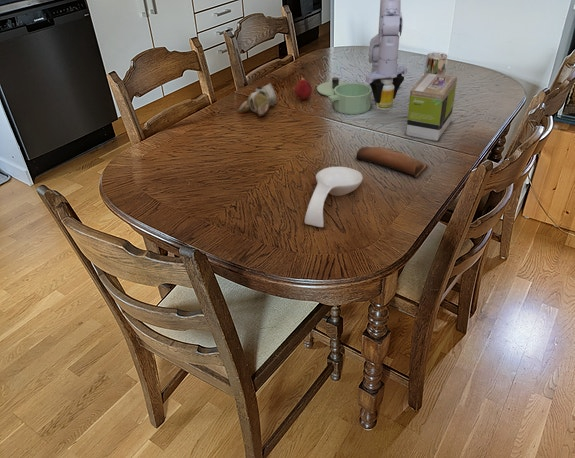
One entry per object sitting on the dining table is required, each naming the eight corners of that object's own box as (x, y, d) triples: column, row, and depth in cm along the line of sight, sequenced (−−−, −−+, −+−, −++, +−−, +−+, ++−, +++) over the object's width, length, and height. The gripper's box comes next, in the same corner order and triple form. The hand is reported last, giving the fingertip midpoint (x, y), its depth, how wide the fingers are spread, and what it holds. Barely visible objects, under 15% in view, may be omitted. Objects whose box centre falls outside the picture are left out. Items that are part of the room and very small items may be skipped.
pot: (320, 106, 171) (320, 89, 167) (362, 95, 177) (363, 78, 174) (340, 119, 162) (340, 101, 158) (384, 106, 168) (385, 89, 165)
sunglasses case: (428, 163, 136) (425, 150, 130) (417, 185, 134) (414, 172, 129) (370, 147, 145) (365, 133, 139) (359, 166, 143) (353, 154, 138)
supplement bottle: (372, 105, 162) (374, 77, 156) (386, 102, 164) (388, 73, 158) (381, 111, 158) (384, 82, 152) (395, 108, 160) (398, 79, 154)
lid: (310, 89, 184) (310, 76, 181) (340, 81, 189) (340, 69, 186) (329, 101, 174) (329, 88, 171) (361, 92, 179) (361, 80, 176)
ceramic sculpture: (283, 80, 167) (259, 99, 157) (285, 104, 172) (262, 124, 163) (256, 76, 171) (231, 94, 162) (259, 99, 177) (235, 118, 167)
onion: (312, 97, 178) (312, 74, 173) (311, 103, 173) (311, 81, 168) (296, 97, 178) (295, 75, 173) (294, 103, 174) (294, 81, 169)
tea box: (420, 116, 161) (426, 71, 152) (451, 122, 157) (459, 76, 148) (404, 135, 151) (410, 88, 142) (437, 142, 147) (445, 94, 138)
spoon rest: (325, 174, 135) (325, 150, 130) (367, 181, 131) (369, 157, 127) (291, 222, 118) (290, 197, 113) (338, 233, 114) (339, 207, 109)
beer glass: (443, 96, 173) (450, 53, 164) (439, 104, 168) (445, 60, 159) (423, 94, 176) (428, 51, 167) (418, 101, 171) (424, 57, 162)
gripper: (376, 65, 146) (373, 109, 154) (415, 56, 151) (410, 99, 159) (362, 59, 151) (360, 101, 159) (400, 50, 156) (396, 91, 164)
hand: (384, 100), depth 159 cm, fingers closed on supplement bottle, 5 cm apart
